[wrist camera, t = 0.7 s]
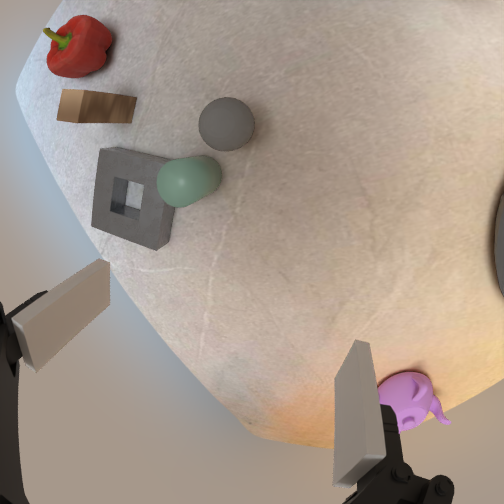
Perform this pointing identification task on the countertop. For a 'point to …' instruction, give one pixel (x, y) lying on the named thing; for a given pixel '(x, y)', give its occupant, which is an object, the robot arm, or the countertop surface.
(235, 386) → the countertop surface
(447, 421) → the teapot
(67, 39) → the vegetable
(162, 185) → the green round bit
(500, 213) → the flat disc
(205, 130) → the light bulb
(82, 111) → the walnut square peg
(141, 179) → the bore block
